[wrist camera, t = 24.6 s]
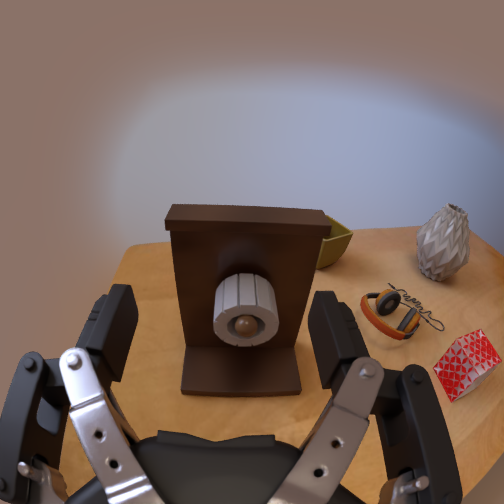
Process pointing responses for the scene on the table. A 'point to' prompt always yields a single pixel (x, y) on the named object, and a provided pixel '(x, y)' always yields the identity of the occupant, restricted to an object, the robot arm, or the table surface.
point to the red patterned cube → (466, 364)
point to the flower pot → (333, 244)
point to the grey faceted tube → (245, 308)
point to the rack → (235, 262)
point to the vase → (444, 243)
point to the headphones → (387, 305)
